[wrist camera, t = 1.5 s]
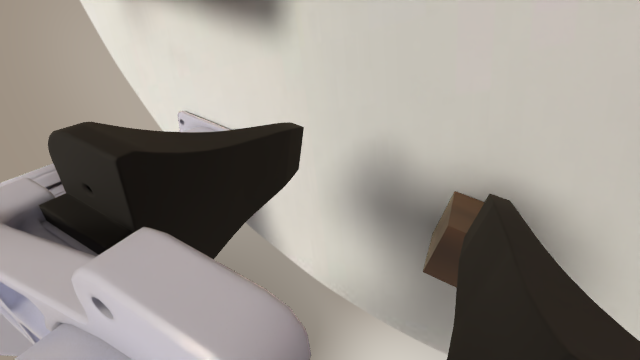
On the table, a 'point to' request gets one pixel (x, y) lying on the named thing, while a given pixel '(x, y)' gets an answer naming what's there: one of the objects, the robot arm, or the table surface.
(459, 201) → the block
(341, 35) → the table surface
